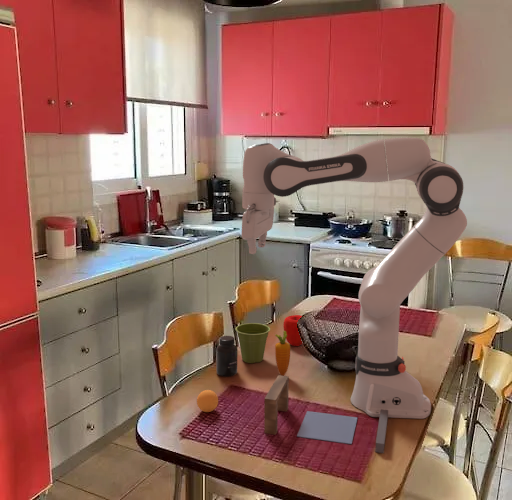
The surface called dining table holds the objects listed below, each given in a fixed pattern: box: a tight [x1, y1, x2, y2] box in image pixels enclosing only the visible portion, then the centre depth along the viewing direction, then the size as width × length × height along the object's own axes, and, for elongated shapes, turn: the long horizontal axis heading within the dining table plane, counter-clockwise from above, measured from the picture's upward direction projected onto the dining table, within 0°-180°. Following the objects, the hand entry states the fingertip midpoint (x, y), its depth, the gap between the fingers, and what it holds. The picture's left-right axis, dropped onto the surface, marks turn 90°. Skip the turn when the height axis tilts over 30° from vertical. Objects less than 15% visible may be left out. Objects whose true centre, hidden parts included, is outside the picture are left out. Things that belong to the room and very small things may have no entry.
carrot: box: [274, 330, 291, 376], centre depth 184 cm, size 5×5×15 cm
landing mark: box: [296, 410, 358, 445], centre depth 154 cm, size 14×14×1 cm
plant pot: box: [234, 322, 271, 364], centre depth 198 cm, size 12×12×11 cm
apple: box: [282, 314, 303, 347], centre depth 212 cm, size 9×9×11 cm
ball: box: [196, 389, 219, 413], centre depth 163 cm, size 6×6×6 cm
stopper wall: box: [374, 409, 389, 454], centre depth 150 cm, size 2×18×2 cm, turn 164°
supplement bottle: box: [215, 335, 238, 378], centre depth 187 cm, size 7×7×12 cm
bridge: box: [263, 374, 290, 436], centre depth 157 cm, size 3×15×10 cm, turn 164°
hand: (257, 250), depth 166 cm, fingers open, 8 cm apart
